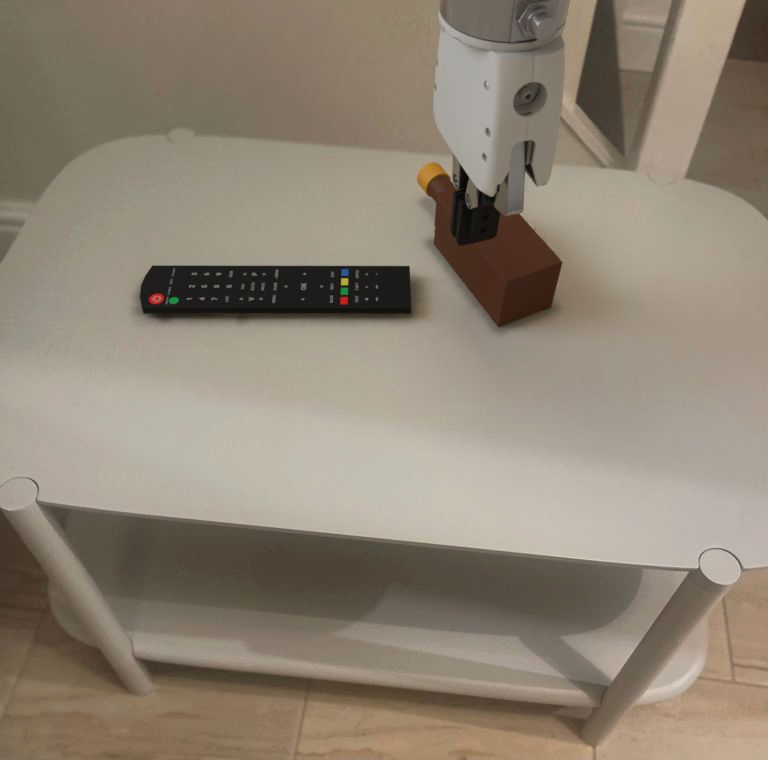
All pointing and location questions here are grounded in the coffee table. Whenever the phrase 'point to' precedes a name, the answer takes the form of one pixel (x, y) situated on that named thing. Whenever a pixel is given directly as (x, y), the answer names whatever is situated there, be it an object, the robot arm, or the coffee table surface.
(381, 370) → the coffee table surface
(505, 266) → the bottle
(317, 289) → the remote control
